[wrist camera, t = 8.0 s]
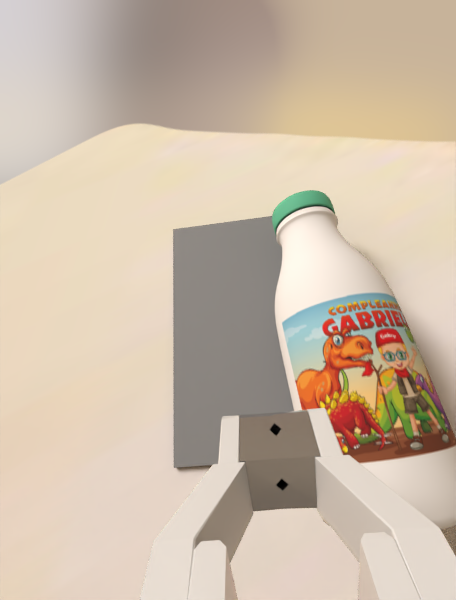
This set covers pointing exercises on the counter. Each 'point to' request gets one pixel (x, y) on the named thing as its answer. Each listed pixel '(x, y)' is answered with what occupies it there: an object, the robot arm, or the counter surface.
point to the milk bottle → (359, 359)
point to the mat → (224, 332)
